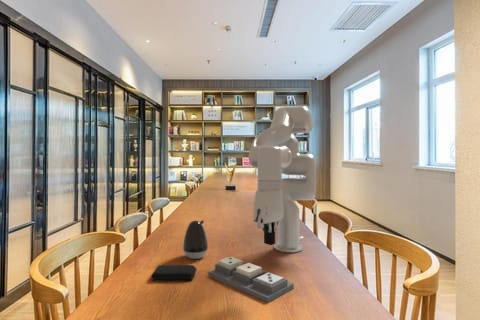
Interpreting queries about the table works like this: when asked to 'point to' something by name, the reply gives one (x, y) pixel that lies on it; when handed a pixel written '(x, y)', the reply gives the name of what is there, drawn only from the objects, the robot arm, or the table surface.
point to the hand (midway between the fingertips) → (269, 243)
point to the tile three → (270, 279)
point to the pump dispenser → (195, 241)
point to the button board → (250, 283)
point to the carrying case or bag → (174, 273)
